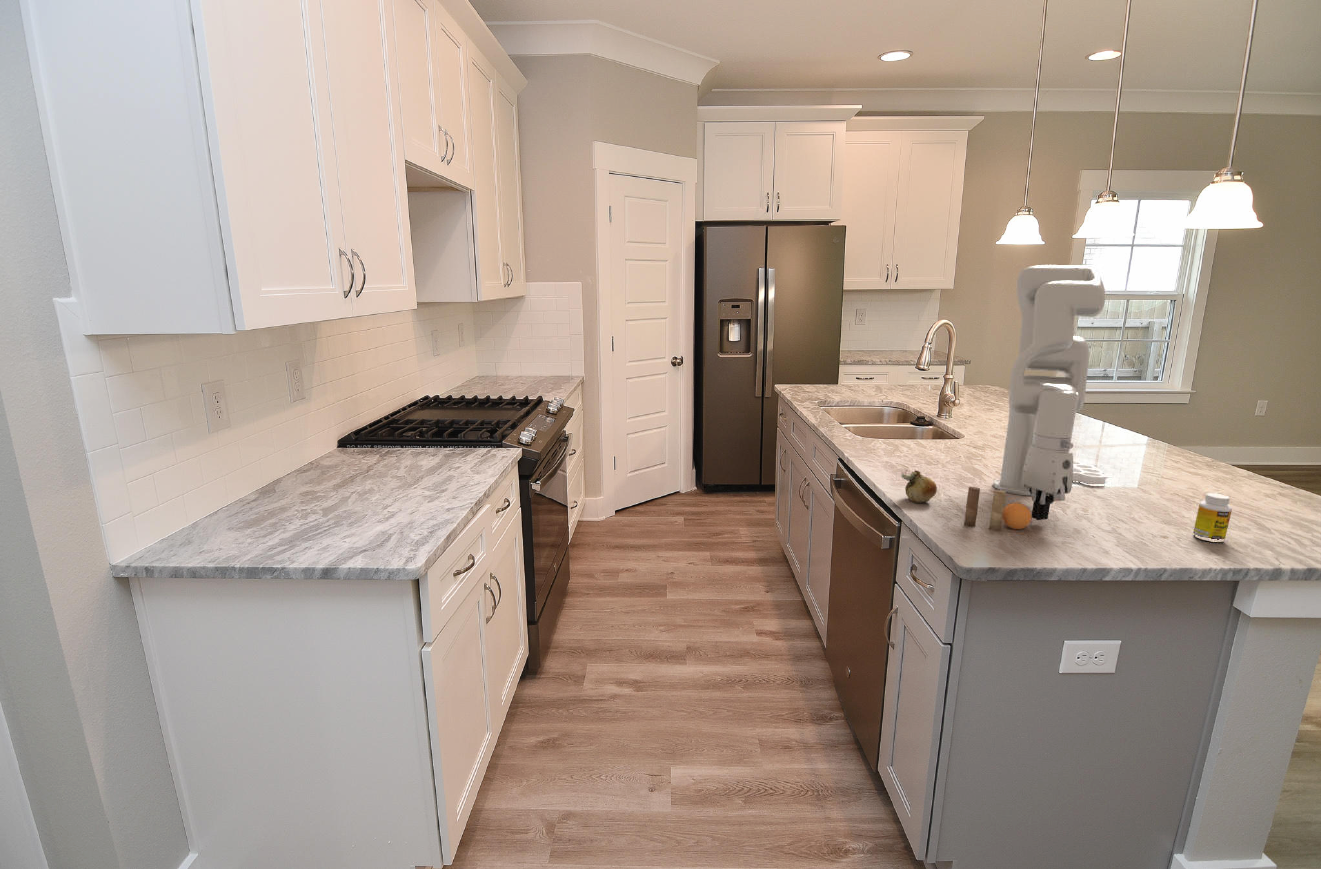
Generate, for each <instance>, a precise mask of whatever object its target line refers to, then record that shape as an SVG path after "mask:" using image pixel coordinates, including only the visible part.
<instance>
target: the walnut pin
mask: <svg viewBox="0 0 1321 869" xmlns="http://www.w3.org/2000/svg"><path fill="white" fill-rule="evenodd" d="M980 493H981V488H980V487H977V486H969V487H968V490H967V497H966V498H967V499H966V507H965V513H964V522H963V525H965V526H966V527H971V528H972V527H973V528H974V527H976V524H977V515H978V509H979V508H978V507H979V500H980Z"/></svg>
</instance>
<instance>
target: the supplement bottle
mask: <svg viewBox="0 0 1321 869" xmlns="http://www.w3.org/2000/svg"><path fill="white" fill-rule="evenodd" d="M1229 503H1230V497H1229V496H1228V495H1225V494H1220V493H1216V492H1215V493H1214V492H1213V493H1212V492H1209V493H1206V494H1205V497H1204V500H1202V501H1201V502H1199V505H1198V510H1197V513H1196V517H1195V518H1196V519H1195V522H1194V523H1195V524H1194V528H1193V532H1192V534H1193V533H1194V534H1195V535H1198V536H1200V537H1205V538H1211V539H1217V540H1219V539H1225V540H1226V537H1227V532H1228V527H1229V524H1230V519H1231V515H1232V512H1233V511H1232V509H1233V508H1232V506H1230V504H1229Z"/></svg>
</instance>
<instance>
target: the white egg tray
mask: <svg viewBox="0 0 1321 869" xmlns="http://www.w3.org/2000/svg"><path fill="white" fill-rule="evenodd" d="M1106 479H1109V477H1107V476H1106V475H1104V472H1103V470H1100V469H1098V468H1097V467H1095V466H1092V465H1090V464H1089V465H1088V464H1086V463H1083V462H1081V461H1078V460H1073V481H1078V482H1083V483H1086V484H1105V483H1106Z"/></svg>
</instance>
